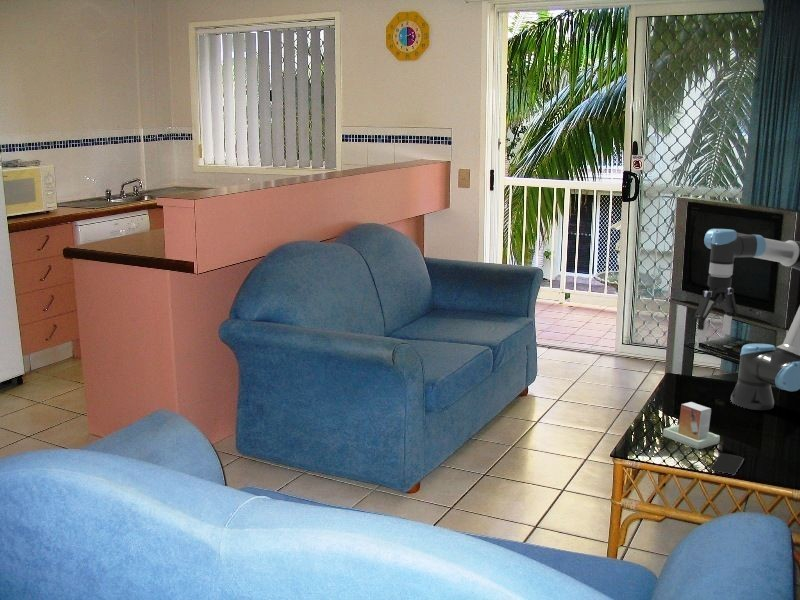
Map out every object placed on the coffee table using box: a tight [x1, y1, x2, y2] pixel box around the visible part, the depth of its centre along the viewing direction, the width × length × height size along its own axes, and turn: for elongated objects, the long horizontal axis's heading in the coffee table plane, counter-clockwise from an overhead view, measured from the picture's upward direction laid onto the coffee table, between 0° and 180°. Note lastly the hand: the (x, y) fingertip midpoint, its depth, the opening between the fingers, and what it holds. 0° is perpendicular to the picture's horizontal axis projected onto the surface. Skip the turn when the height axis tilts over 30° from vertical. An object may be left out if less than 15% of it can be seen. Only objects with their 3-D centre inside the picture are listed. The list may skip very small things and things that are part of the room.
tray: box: [662, 424, 721, 450], centre depth 288 cm, size 11×14×2 cm
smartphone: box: [710, 452, 745, 476], centre depth 268 cm, size 7×1×15 cm
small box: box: [678, 401, 712, 441], centre depth 287 cm, size 8×6×10 cm
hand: (713, 336), depth 296 cm, fingers open, 13 cm apart
